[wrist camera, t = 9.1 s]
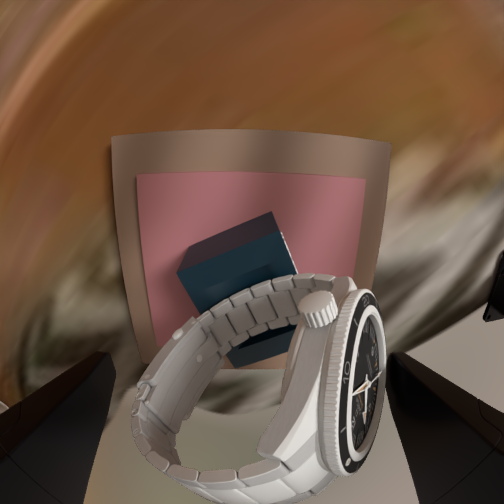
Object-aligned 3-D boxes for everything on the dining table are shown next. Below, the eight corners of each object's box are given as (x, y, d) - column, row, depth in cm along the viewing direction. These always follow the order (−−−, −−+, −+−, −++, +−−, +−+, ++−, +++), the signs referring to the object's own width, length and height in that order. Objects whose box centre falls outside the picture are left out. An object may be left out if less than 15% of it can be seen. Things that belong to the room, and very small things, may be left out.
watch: (342, 290, 15) (437, 468, 5) (208, 340, 16) (183, 526, 6) (309, 193, 13) (465, 341, 3) (158, 257, 14) (49, 445, 4)
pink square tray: (382, 142, 14) (394, 143, 12) (347, 354, 19) (353, 368, 17) (119, 136, 13) (107, 136, 12) (145, 353, 18) (140, 367, 17)
